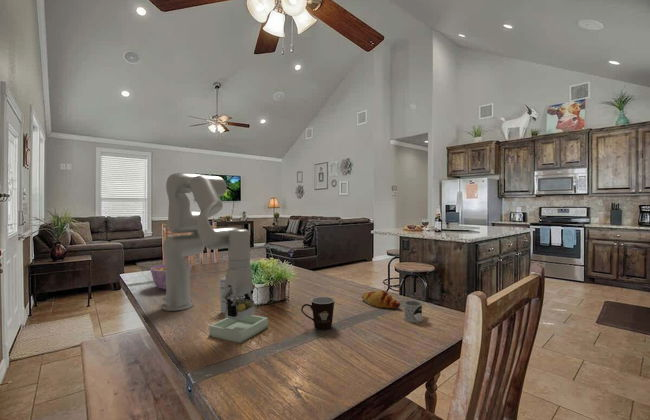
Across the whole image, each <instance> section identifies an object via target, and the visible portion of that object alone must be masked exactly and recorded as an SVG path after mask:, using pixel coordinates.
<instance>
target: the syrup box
mask: <svg viewBox="0 0 650 420" xmlns="http://www.w3.org/2000/svg"><path fill="white" fill-rule="evenodd" d="M225 278H226V276H225V277H222V278H220V279H219V296H220V297H219V298H220V313H221V314H225V310H226V303H225V302H224V300H223V298H222V296H223V294H224V293H225ZM232 296H233V295H232ZM228 297H229V296H228ZM238 298H240V297H237V299H238ZM232 300H233V298H231V301H232Z"/></svg>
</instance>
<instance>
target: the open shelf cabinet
mask: <svg viewBox="0 0 650 420" xmlns="http://www.w3.org/2000/svg"><path fill="white" fill-rule="evenodd" d="M243 298H244V297H243ZM243 298H242V297H239V298H238V299H236V302H235V305H236V317H231V316H228V305H226V310H225V313H224V319H225V318H230V319H235V320H240V321H241V320H243V319H245V318H247V317H249V316H251V315H255V300H254V299H251V300H249V299H243ZM239 304H244V305H245V306H246V309H245V310H244V311H242V312H239V311H238V309H237V307H238V305H239Z"/></svg>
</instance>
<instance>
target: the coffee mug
mask: <svg viewBox="0 0 650 420" xmlns="http://www.w3.org/2000/svg"><path fill="white" fill-rule="evenodd" d="M305 307H309V308H310V309H311V311H312V317H311V316H309V315H308V314H307V313H305V312H304V308H305ZM334 307H335V299H334V298H333V297H330V296H317V297H313V298H311V304H308V303H305V304H303V305H302V306H301V313H302V314H303V315H304V316H305V317H307V318H308V319H310V320H312V321H313V325H314V329H315V330H318V331H328V330H330V329H332V327H333V318H334V311H335V310H334Z"/></svg>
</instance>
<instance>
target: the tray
mask: <svg viewBox="0 0 650 420" xmlns="http://www.w3.org/2000/svg"><path fill="white" fill-rule="evenodd" d="M208 328H209V333H208V335H209V336H210V337H212V338H213V337H214V338H217V339H221V340H226V341H230V342H234V343H238V344H242V343H244V342H246V341H248V340H250V339H251V338H252V337H254V336H256V335H257V334H259V333H261V332H262V331H265V329H266V330H267V328H269V317H266V316H262V315H261V316H260V315H255V314H253V315H251V316H249V317H247V318H245V319H243V320H241V321H240V320H235V319H230V318H225V317H224V318H223V319H221V320H218V321H216V322H214V323H212V324H210V325H209V326H208Z"/></svg>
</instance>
